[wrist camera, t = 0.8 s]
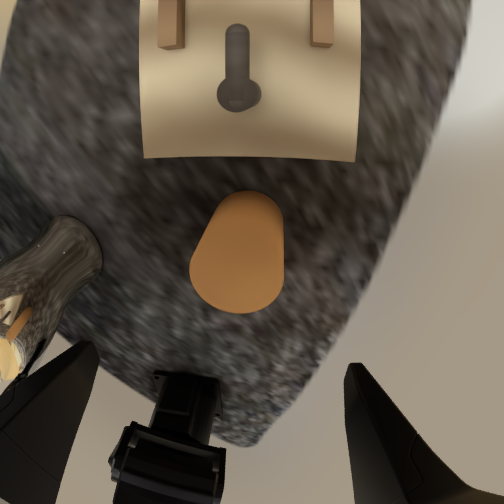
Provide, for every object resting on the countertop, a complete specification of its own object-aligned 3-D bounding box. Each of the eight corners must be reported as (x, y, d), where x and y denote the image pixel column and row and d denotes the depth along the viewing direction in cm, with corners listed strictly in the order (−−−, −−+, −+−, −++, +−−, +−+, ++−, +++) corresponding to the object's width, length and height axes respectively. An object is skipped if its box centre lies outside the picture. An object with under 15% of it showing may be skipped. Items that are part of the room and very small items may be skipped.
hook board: (351, 158, 17) (375, 182, 13) (150, 155, 18) (111, 178, 14) (352, -54, 10) (372, -92, 6) (150, -48, 11) (114, -78, 7)
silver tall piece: (113, 293, 24) (20, 449, 10) (49, 279, 24) (-49, 402, 11) (103, 213, 20) (-47, 367, 7) (34, 206, 20) (-102, 320, 7)
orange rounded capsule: (281, 256, 21) (281, 315, 15) (215, 253, 21) (194, 310, 16) (284, 191, 19) (286, 235, 13) (211, 189, 19) (184, 231, 14)
